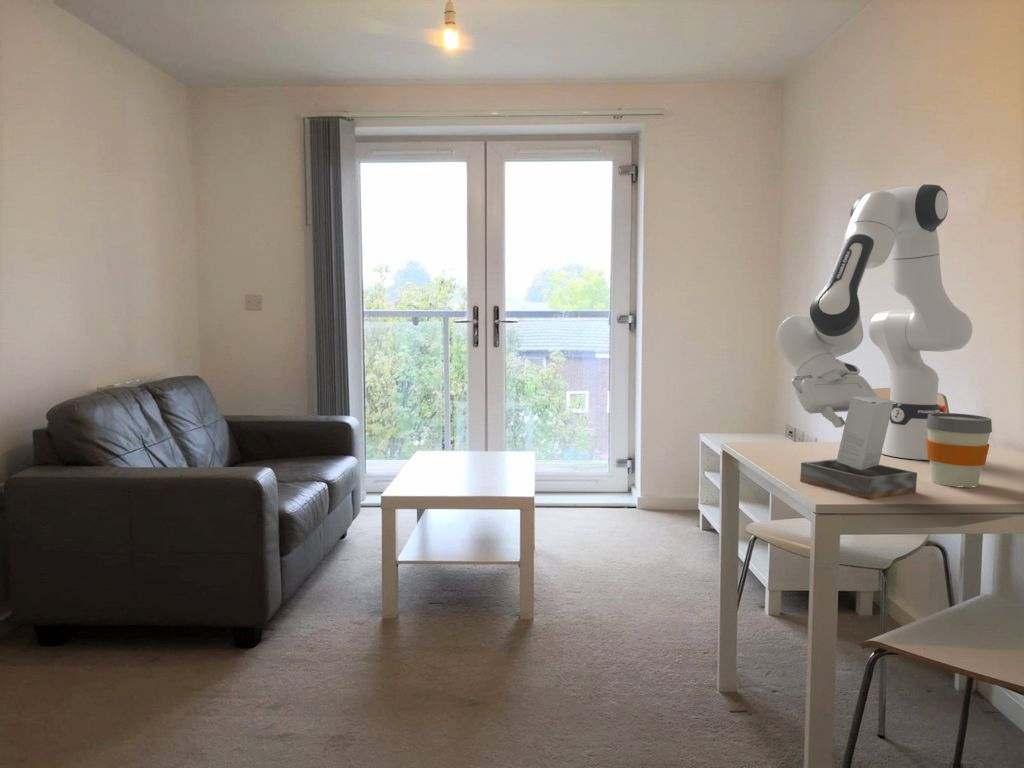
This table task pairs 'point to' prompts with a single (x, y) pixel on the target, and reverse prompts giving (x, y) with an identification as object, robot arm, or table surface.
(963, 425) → the reusable coffee cup
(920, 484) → the table surface
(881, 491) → the open storage bin
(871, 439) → the skincare box
